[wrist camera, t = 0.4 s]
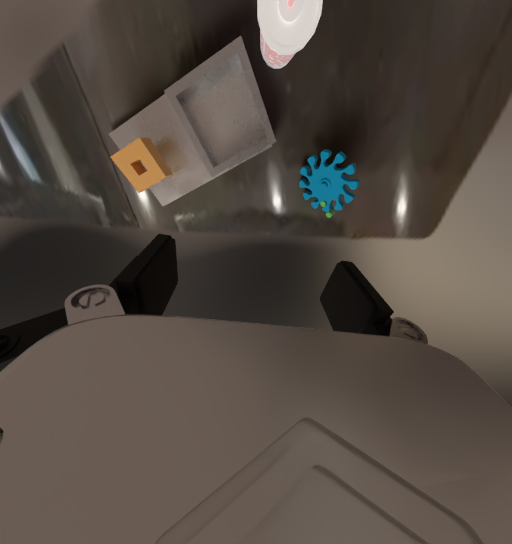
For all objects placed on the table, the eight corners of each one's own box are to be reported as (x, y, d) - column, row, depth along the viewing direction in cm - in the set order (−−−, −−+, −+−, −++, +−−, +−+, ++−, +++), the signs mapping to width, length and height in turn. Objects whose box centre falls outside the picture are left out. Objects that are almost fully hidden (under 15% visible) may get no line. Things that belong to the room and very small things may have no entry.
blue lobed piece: (293, 155, 31) (358, 149, 25) (311, 141, 33) (375, 134, 27) (300, 215, 38) (352, 223, 32) (315, 201, 41) (365, 205, 34)
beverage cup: (308, 53, 25) (358, -16, 14) (270, 88, 27) (285, 52, 16) (287, -11, 22) (327, -167, 11) (245, 33, 24) (242, -60, 13)
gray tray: (240, 44, 25) (238, 28, 21) (274, 144, 31) (277, 145, 28) (113, 134, 30) (95, 133, 26) (165, 204, 36) (156, 211, 33)
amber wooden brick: (149, 137, 26) (139, 137, 24) (172, 173, 29) (166, 176, 27) (122, 155, 27) (110, 157, 25) (147, 188, 30) (138, 192, 28)
